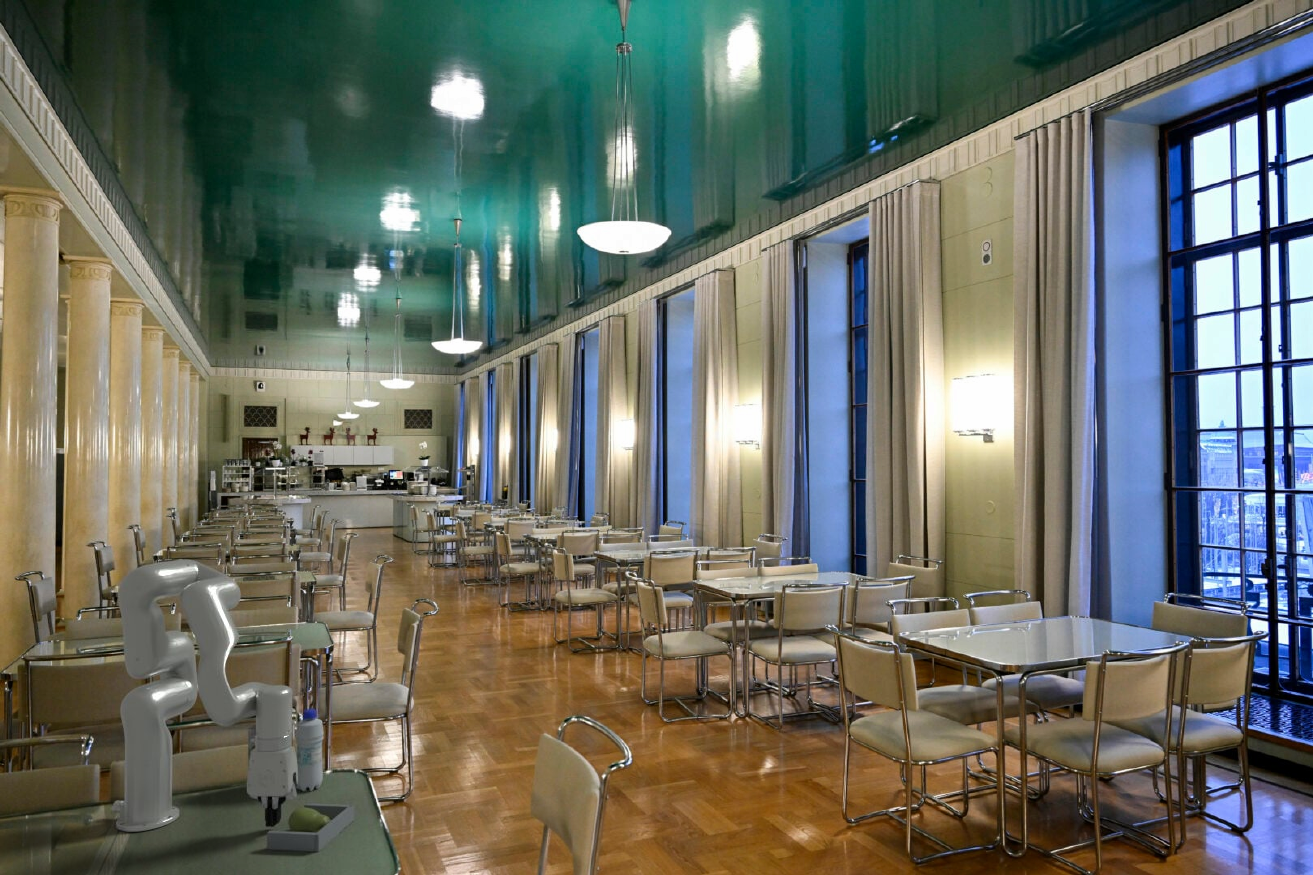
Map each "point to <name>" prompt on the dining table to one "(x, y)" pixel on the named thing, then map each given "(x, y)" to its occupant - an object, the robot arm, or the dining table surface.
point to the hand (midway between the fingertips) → (272, 824)
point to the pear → (307, 820)
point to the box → (313, 841)
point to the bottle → (309, 751)
